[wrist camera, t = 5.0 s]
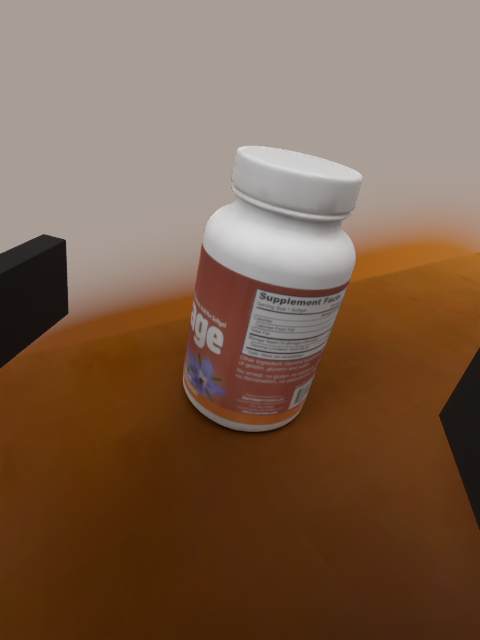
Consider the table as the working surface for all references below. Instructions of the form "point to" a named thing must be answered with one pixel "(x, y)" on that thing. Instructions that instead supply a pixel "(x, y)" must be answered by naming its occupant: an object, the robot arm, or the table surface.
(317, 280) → the pill bottle
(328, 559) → the table surface
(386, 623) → the table surface
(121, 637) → the table surface
